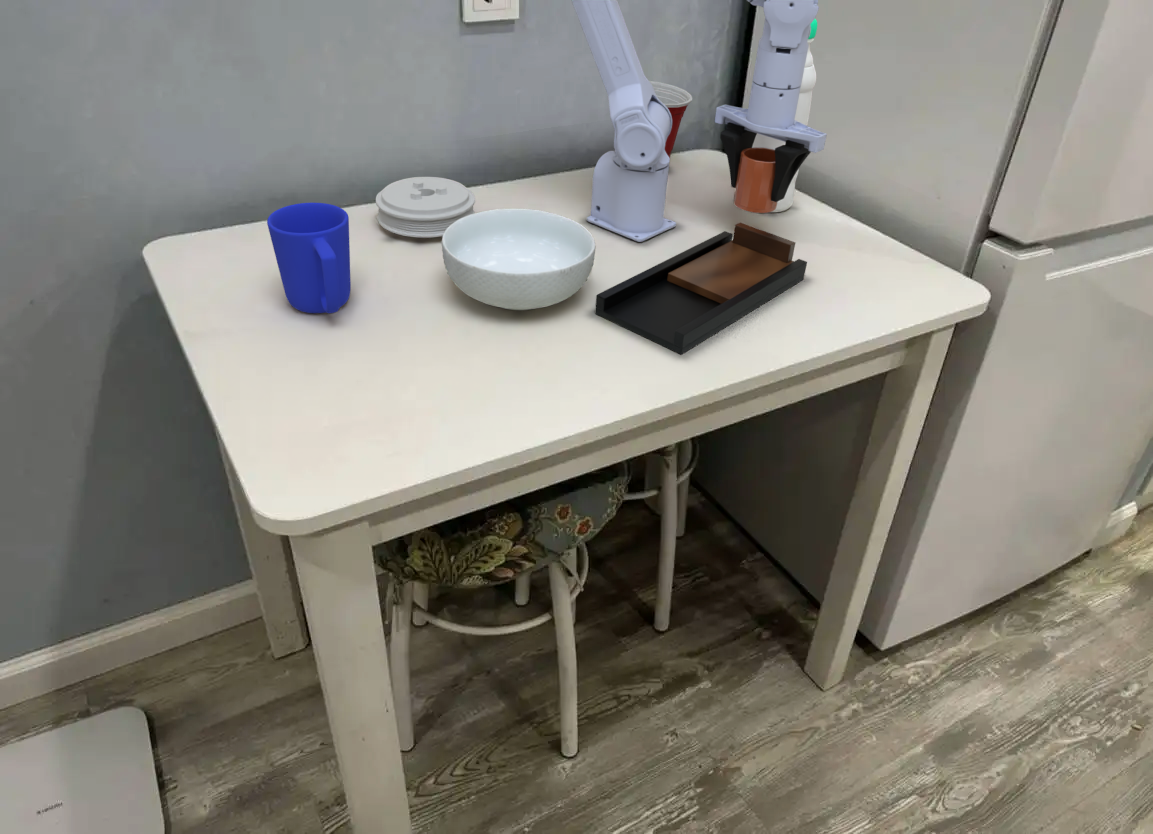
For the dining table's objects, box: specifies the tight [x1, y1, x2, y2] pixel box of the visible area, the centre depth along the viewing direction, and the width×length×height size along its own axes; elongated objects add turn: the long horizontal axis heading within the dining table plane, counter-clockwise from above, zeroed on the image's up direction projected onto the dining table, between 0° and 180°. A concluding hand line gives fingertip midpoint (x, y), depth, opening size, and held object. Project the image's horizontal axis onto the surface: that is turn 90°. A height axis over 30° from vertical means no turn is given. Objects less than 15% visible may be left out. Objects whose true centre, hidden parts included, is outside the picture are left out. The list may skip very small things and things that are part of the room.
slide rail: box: [594, 230, 808, 355], centre depth 103 cm, size 12×25×2 cm, turn 138°
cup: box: [733, 147, 778, 214], centre depth 113 cm, size 6×6×6 cm
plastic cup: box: [648, 80, 693, 158], centre depth 133 cm, size 11×11×12 cm
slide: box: [667, 222, 796, 304], centre depth 106 cm, size 9×14×3 cm, turn 138°
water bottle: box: [752, 18, 818, 213], centre depth 120 cm, size 7×7×25 cm
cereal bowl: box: [441, 208, 597, 311], centre depth 100 cm, size 17×17×7 cm
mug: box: [266, 202, 352, 314], centre depth 95 cm, size 8×12×10 cm
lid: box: [375, 176, 476, 238], centre depth 116 cm, size 13×13×5 cm
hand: (757, 192), depth 114 cm, fingers closed on cup, 5 cm apart
